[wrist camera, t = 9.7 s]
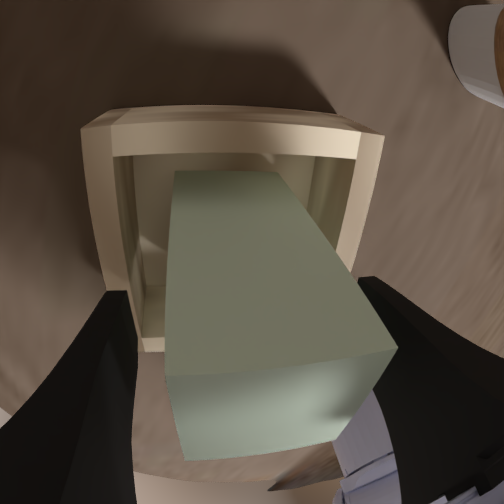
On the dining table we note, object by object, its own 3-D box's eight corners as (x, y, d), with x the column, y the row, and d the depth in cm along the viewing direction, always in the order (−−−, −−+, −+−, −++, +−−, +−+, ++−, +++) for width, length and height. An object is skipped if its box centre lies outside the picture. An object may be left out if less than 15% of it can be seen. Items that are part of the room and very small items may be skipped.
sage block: (277, 171, 14) (398, 347, 6) (265, 256, 16) (335, 439, 8) (174, 170, 13) (164, 375, 5) (176, 258, 15) (185, 460, 7)
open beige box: (337, 114, 13) (384, 135, 10) (305, 287, 19) (329, 337, 15) (109, 109, 11) (80, 128, 8) (131, 296, 17) (124, 352, 13)
